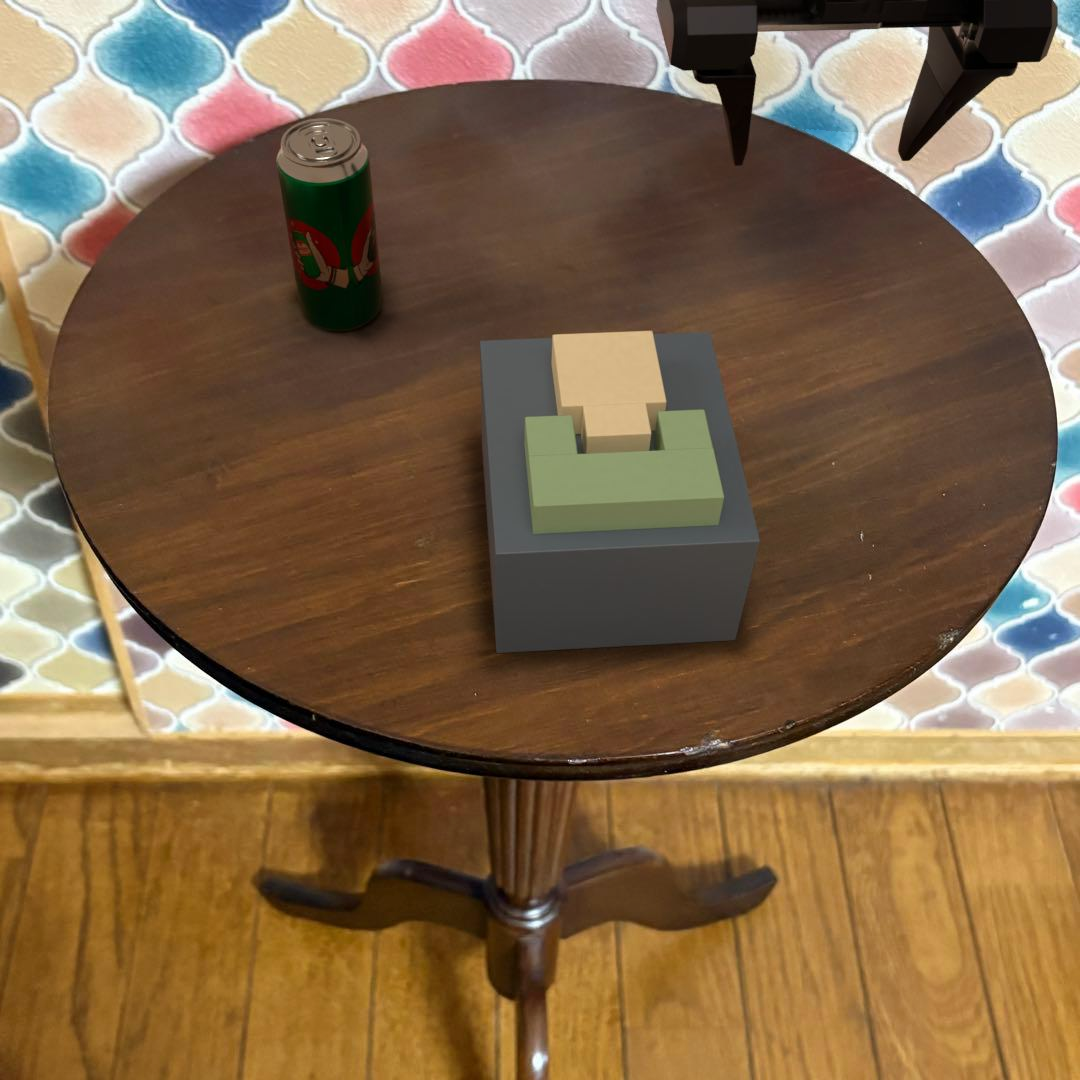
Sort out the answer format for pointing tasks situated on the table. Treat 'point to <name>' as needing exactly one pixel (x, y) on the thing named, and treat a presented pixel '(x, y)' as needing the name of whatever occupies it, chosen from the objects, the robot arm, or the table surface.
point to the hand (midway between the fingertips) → (820, 158)
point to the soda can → (331, 223)
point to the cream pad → (609, 388)
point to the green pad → (622, 478)
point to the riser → (617, 555)
